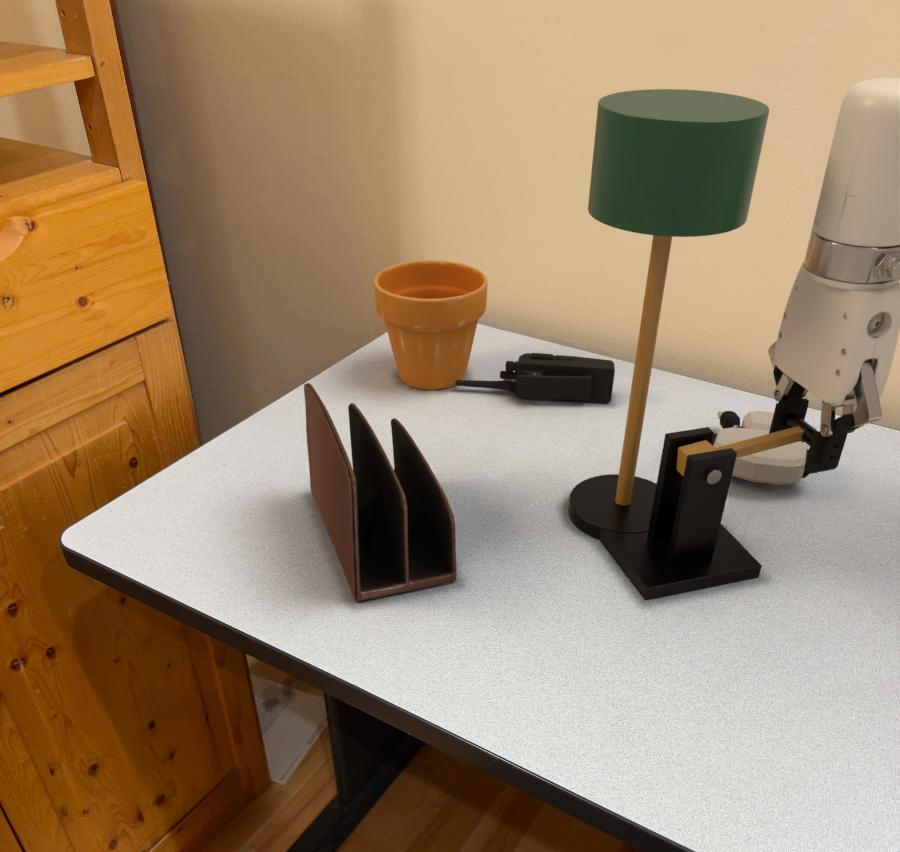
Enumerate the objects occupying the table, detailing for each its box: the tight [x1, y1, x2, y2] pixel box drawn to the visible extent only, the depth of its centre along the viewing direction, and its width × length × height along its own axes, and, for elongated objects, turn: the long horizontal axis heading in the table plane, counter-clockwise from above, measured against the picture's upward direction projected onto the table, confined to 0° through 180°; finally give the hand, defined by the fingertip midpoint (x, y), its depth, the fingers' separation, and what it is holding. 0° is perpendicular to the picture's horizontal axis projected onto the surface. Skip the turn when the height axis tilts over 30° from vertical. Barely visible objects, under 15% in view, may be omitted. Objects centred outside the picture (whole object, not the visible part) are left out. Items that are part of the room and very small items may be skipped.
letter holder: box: [303, 382, 458, 604], centre depth 85 cm, size 10×20×14 cm, turn 19°
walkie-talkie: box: [455, 352, 616, 403], centre depth 112 cm, size 6×6×20 cm
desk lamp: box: [567, 88, 770, 541], centre depth 80 cm, size 13×13×38 cm
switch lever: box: [677, 413, 820, 476], centre depth 80 cm, size 13×5×2 cm, turn 107°
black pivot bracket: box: [599, 426, 763, 602], centre depth 82 cm, size 12×10×13 cm
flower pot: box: [373, 259, 488, 391], centre depth 114 cm, size 14×14×13 cm
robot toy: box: [711, 410, 817, 486], centre depth 99 cm, size 12×4×15 cm
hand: (801, 452), depth 82 cm, fingers closed on switch lever, 5 cm apart
